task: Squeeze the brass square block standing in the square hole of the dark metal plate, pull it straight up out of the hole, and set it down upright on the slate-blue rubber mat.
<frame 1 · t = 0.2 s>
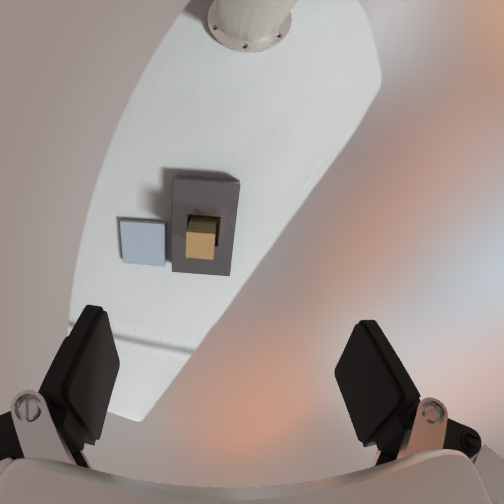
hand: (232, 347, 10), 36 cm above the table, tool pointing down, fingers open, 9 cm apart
mat: (143, 241, 46), on the table
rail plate: (204, 224, 46), on the table
brass block: (204, 224, 46), resting in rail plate
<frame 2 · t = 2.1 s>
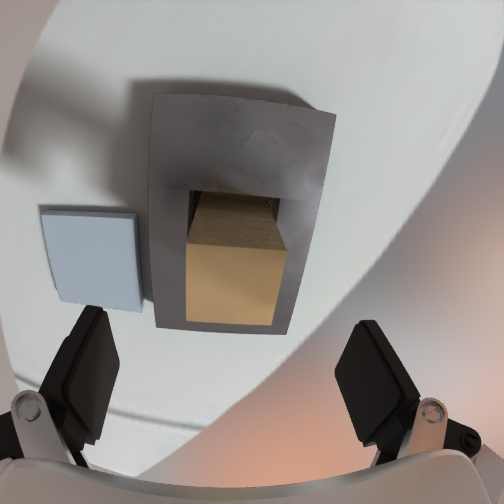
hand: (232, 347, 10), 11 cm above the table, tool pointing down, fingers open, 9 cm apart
mat: (94, 259, 19), on the table
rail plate: (230, 220, 19), on the table
brass block: (230, 219, 19), resting in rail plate
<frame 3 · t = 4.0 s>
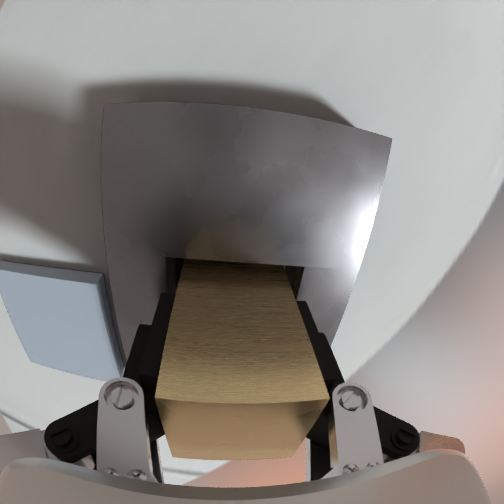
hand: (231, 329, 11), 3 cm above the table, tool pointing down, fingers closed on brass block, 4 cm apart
mat: (60, 321, 14), on the table
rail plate: (229, 284, 13), on the table
brass block: (229, 283, 13), resting in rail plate, touching gripper
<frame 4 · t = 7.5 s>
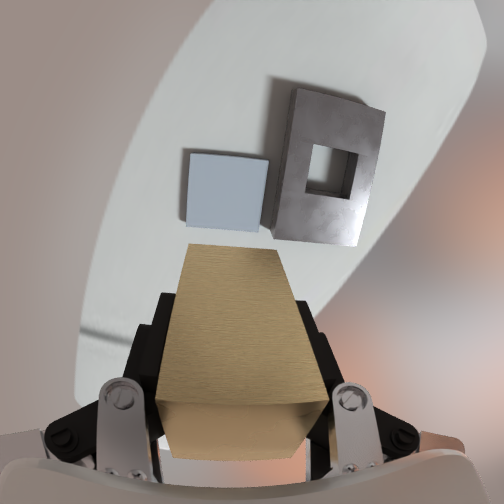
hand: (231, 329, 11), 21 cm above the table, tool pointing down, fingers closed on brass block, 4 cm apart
mat: (225, 191, 29), on the table
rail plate: (324, 168, 29), on the table
brass block: (229, 283, 13), point 18 cm above the table, touching gripper
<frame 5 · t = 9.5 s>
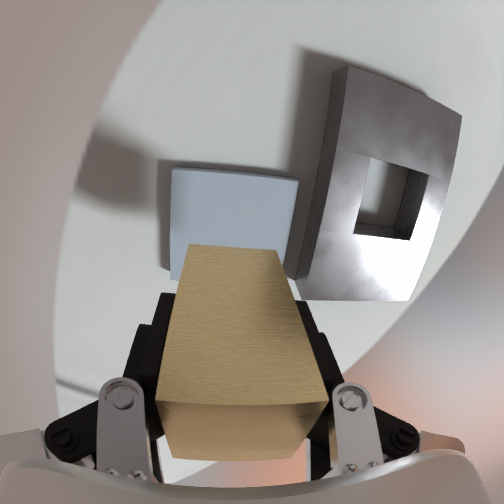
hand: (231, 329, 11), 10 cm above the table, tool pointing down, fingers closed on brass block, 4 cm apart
mat: (229, 227, 19), on the table
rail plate: (376, 192, 19), on the table
brass block: (229, 284, 13), point 7 cm above the table, touching gripper
when the fingers open (6 cm above the table, at t = 11.2 s): brass block drops 1 cm, resting on mat.
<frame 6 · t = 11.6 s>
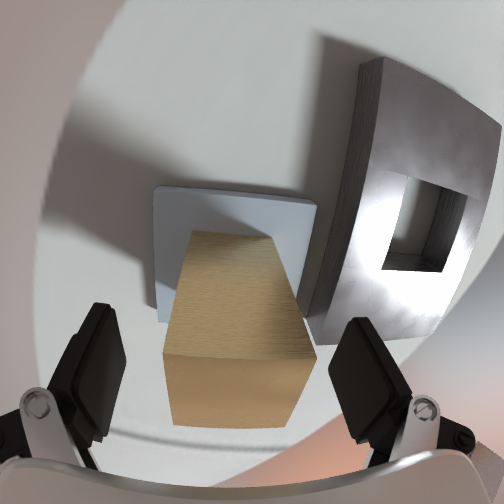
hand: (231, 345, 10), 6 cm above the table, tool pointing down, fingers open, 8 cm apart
mat: (228, 261, 16), on the table
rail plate: (406, 215, 15), on the table
brass block: (228, 268, 15), point 1 cm above the table, touching mat
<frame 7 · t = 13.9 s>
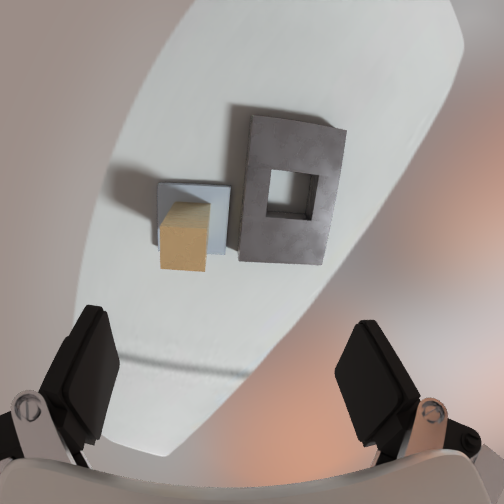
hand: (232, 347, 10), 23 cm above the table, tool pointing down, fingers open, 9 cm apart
mat: (192, 217, 31), on the table
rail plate: (287, 190, 31), on the table
brass block: (191, 219, 30), point 1 cm above the table, touching mat
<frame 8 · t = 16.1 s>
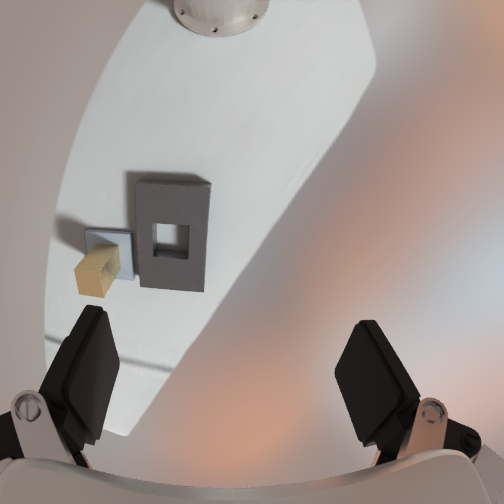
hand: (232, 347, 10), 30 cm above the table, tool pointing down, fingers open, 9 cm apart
mat: (110, 253, 40), on the table
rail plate: (173, 234, 40), on the table
brass block: (108, 256, 39), point 1 cm above the table, touching mat
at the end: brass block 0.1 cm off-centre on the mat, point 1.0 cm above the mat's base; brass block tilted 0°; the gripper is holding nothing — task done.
